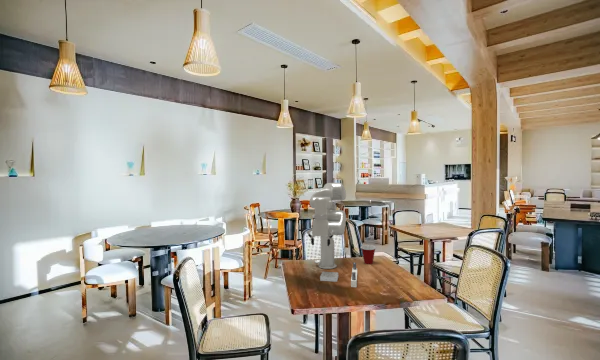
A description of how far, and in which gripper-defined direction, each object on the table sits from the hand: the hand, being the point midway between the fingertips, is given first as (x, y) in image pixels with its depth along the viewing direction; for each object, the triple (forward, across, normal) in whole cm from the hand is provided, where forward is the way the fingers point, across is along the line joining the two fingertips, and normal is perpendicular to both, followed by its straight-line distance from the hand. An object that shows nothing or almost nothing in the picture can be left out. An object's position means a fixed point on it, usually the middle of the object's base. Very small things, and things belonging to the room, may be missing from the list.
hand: (320, 245), depth 198 cm
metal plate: (+20, +6, -1) cm, 21 cm away
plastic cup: (+19, +28, +40) cm, 52 cm away
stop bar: (+20, +21, 0) cm, 29 cm away
